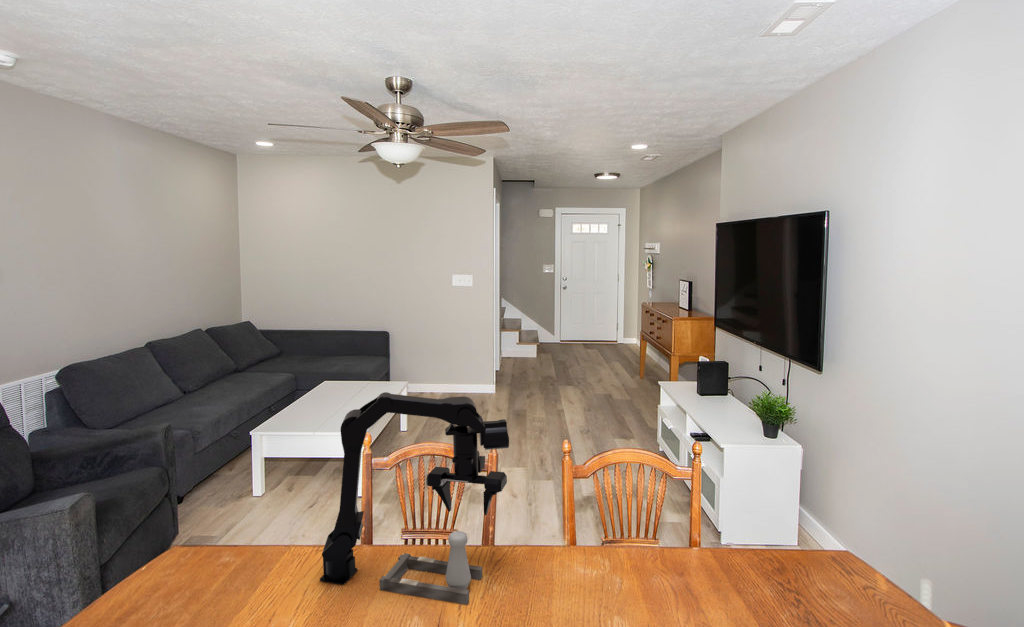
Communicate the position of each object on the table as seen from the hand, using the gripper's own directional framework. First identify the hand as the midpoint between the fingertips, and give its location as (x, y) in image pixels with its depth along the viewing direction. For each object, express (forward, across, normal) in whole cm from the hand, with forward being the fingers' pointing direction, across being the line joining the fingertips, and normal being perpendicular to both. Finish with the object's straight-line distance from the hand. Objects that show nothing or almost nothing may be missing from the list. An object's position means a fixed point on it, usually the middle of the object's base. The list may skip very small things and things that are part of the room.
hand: (467, 512), depth 139 cm
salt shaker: (+14, 0, +9) cm, 17 cm away
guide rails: (+13, +6, +9) cm, 17 cm away
